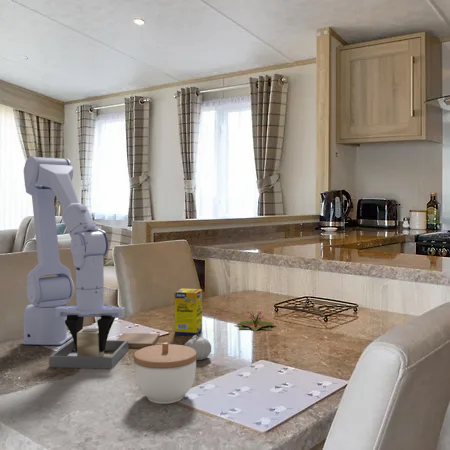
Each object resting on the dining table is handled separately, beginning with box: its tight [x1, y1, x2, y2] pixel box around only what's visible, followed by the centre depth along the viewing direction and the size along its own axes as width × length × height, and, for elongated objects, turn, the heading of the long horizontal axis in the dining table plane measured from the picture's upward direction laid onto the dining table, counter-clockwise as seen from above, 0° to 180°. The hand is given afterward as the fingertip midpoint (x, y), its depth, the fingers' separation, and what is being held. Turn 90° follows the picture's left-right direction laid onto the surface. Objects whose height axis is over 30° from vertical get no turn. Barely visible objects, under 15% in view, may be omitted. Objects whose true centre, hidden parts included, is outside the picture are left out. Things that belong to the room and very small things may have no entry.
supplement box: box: [173, 288, 203, 337], centre depth 132 cm, size 6×6×11 cm
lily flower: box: [233, 310, 278, 332], centre depth 139 cm, size 12×12×5 cm
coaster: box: [116, 332, 160, 349], centre depth 123 cm, size 9×9×1 cm
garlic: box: [183, 334, 212, 361], centre depth 110 cm, size 6×5×5 cm
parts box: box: [76, 327, 105, 357], centre depth 111 cm, size 4×4×6 cm
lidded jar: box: [133, 341, 197, 405], centre depth 88 cm, size 11×11×9 cm
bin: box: [48, 339, 129, 369], centre depth 111 cm, size 13×13×2 cm
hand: (90, 350), depth 111 cm, fingers closed on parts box, 4 cm apart
